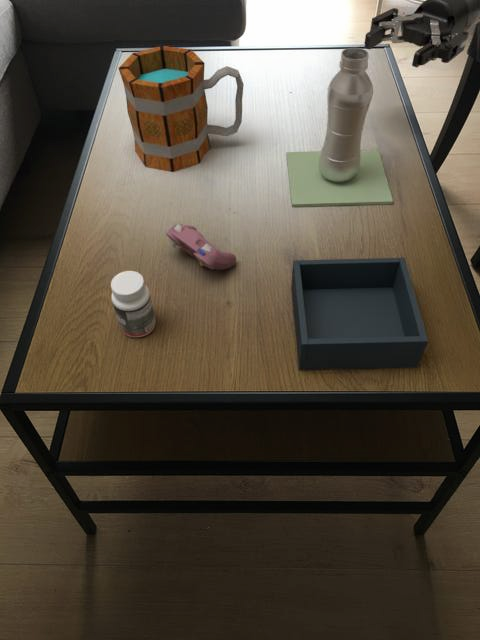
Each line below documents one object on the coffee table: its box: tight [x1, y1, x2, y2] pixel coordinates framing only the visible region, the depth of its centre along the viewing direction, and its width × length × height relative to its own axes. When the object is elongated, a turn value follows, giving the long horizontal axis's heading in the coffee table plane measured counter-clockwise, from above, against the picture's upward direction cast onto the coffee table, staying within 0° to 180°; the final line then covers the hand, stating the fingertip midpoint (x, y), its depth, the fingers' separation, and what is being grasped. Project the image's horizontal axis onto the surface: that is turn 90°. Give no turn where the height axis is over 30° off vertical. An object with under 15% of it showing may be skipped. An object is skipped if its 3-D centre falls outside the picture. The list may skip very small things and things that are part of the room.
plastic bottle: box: [319, 47, 374, 182], centre depth 82 cm, size 6×7×20 cm
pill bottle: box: [110, 270, 157, 338], centre depth 68 cm, size 5×5×8 cm
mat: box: [285, 149, 394, 208], centre depth 90 cm, size 16×14×1 cm
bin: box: [290, 257, 429, 371], centre depth 68 cm, size 15×14×6 cm
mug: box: [118, 45, 245, 173], centre depth 90 cm, size 20×14×15 cm
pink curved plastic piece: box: [165, 222, 237, 270], centre depth 77 cm, size 10×5×7 cm, turn 45°
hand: (390, 51), depth 80 cm, fingers open, 8 cm apart
